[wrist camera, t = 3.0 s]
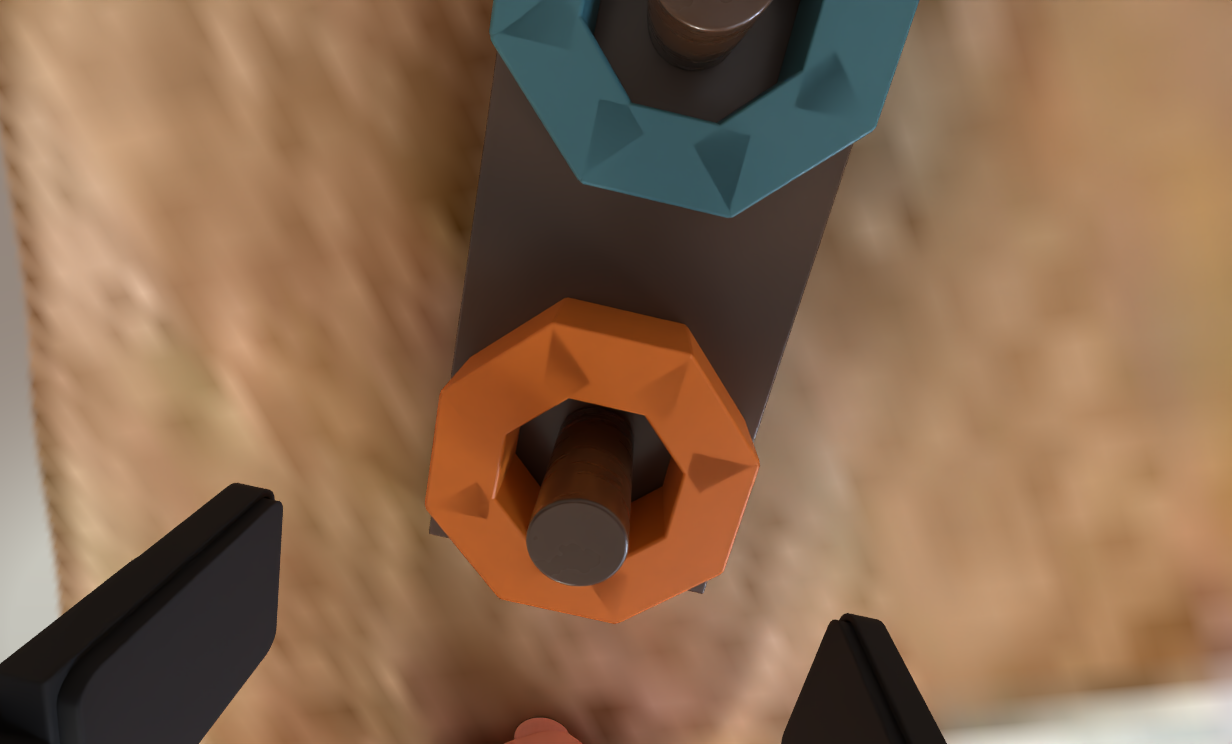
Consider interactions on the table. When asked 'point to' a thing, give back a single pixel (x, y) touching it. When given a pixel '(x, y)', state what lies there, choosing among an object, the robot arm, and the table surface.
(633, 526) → the orange octagonal ring
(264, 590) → the robot arm
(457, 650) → the table surface
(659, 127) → the teal faceted ring
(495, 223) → the stand
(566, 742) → the teapot
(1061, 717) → the table surface
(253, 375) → the table surface
